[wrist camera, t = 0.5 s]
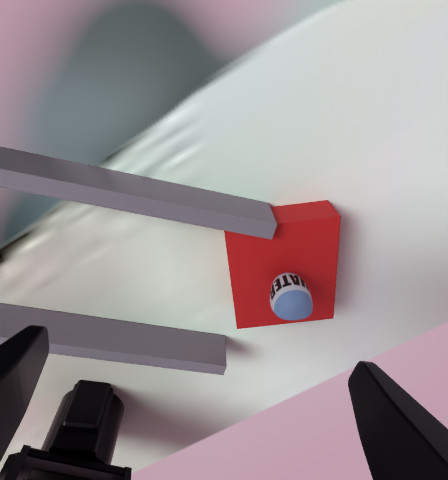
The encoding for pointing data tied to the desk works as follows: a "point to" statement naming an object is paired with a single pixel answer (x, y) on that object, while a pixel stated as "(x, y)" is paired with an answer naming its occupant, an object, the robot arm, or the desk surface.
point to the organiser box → (141, 202)
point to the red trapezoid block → (286, 267)
